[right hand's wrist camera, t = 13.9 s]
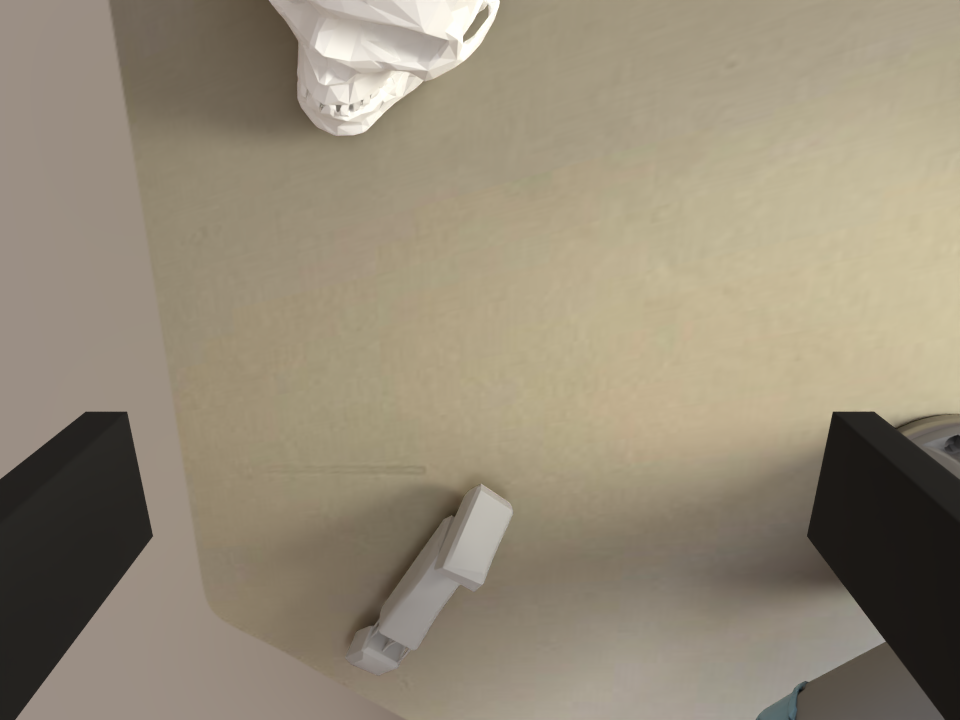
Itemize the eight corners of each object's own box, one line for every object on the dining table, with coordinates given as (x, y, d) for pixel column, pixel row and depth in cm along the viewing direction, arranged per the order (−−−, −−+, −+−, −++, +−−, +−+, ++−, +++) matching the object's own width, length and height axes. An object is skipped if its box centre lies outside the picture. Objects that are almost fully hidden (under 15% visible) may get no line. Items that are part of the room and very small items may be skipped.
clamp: (477, 472, 52) (471, 531, 45) (517, 496, 52) (516, 557, 46) (351, 624, 59) (331, 692, 53) (388, 643, 60) (372, 712, 54)
